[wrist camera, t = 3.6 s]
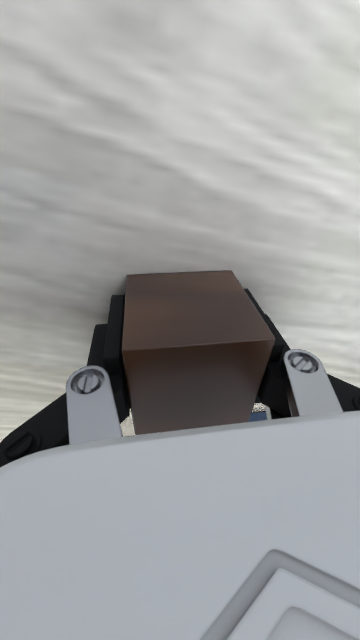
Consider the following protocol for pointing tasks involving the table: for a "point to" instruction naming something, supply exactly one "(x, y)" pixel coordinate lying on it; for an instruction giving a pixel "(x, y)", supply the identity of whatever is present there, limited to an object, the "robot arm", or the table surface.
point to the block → (192, 350)
